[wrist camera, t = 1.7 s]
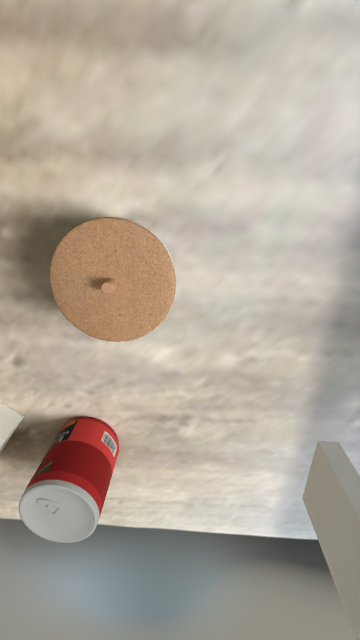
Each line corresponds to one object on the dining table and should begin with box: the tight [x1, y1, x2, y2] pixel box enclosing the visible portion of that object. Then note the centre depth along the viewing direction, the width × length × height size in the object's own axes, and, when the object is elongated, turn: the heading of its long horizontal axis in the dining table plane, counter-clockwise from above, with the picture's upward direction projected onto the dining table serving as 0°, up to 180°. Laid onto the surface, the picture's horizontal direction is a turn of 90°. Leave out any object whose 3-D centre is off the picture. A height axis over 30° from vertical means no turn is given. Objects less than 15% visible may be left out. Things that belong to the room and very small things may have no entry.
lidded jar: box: [49, 217, 176, 342], centre depth 31 cm, size 11×11×9 cm
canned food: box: [19, 417, 119, 543], centre depth 37 cm, size 8×8×11 cm
